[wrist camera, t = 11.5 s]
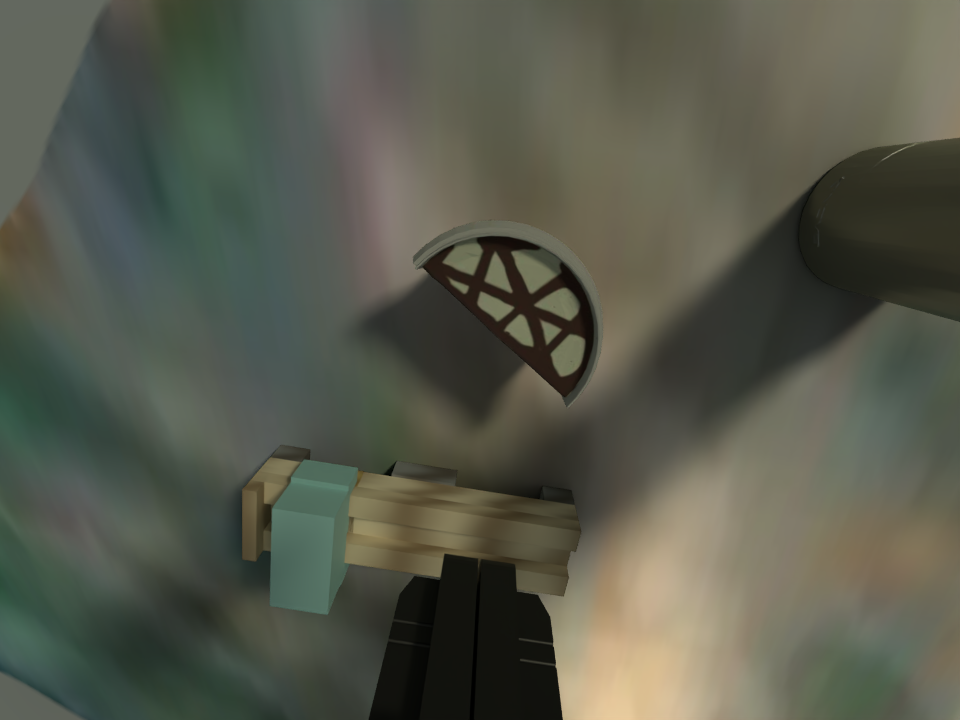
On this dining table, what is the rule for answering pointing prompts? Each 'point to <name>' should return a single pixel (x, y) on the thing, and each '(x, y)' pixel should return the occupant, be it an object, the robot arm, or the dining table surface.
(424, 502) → the beam
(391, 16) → the dining table surface
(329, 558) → the rider
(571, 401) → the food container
